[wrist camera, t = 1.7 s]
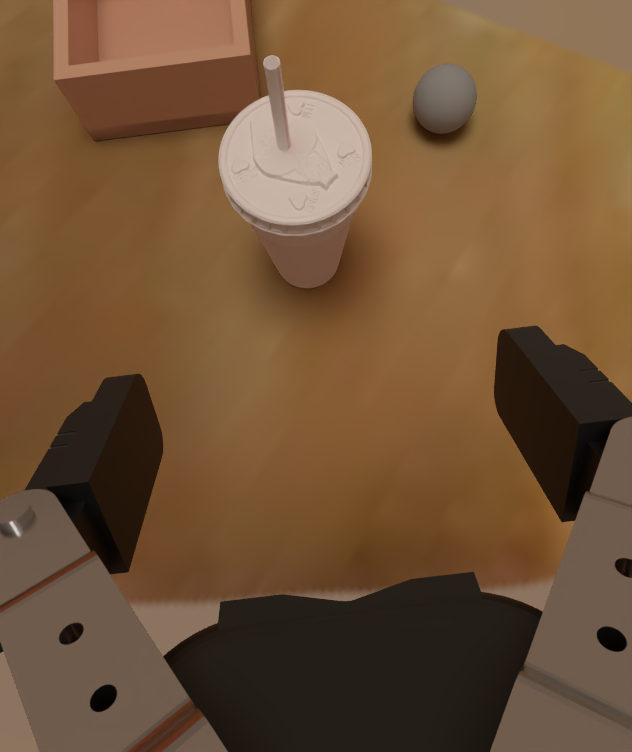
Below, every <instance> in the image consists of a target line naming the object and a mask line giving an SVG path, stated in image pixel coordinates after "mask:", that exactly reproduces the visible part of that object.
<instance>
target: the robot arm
mask: <svg viewBox="0 0 632 752" xmlns="http://www.w3.org/2000/svg"><path fill="white" fill-rule="evenodd" d="M494 398H495V404H496V408H497V411H498V414H499V416H500V418H501V420H502V421H503V423H504V425H505V426H506V428H507V430H508V431H509V433H510V435H511V437H512V438H513V440H514V442H515V443H516V445H517V447H518V449H519V450H520V452H521V454H522V455H523V457H524V459H525V460H526V462H527V464H528V466H529V467H530V469H531V471H532V472H533V474H534V476H535V477H536V479H537V481H538V483H539V484H540V486H541V488H542V489H543V491H544V493H545V494H546V496H547V498H548V500H549V501H550V503H551V505H552V506H553V508H554V510H555V511H556V513H557V515H558V517H559V518H560V520H561V522H567V521H575V523H574V525H573V528H572V531H571V534H570V537H569V540H568V542H567V545H566V548H565V551H564V554H563V557H562V559H561V562H560V565H559V568H558V571H557V574H556V576H555V579H554V582H553V585H552V588H551V591H550V593H549V596H548V599H547V602H546V605H545V608H544V610H543V612H542V611H540V610H539V609H536V608H534V607H532V606H530V605H527V604H525V603H523V602H520V601H517V600H514V599H511V598H508V597H505V596H500V595H496V594H491V593H484V592H481V591H480V588H479V585H478V583H477V580H476V577H475V574H474V572H468V573H460V574H451V575H443V576H434V577H426V578H418V579H410V580H408V581H405V582H402V583H400V584H397V585H394V586H391V587H389V588H386V589H383V590H380V591H378V592H375V593H372V594H369V595H367V596H364V597H361V598H358V599H356V600H352V601H335V600H326V599H317V598H309V597H300V596H291V595H283V594H282V595H274V596H265V597H257V598H248V599H240V600H231V601H223V602H220V611H219V620H218V623H217V624H214V625H212V626H209V627H207V628H205V629H203V630H201V631H199V632H197V633H195V634H193V635H192V636H190V637H189V638H187V639H185V640H184V641H182V642H181V643H179V644H178V645H177V646H175V647H174V648H173V649H172V650H170V651H169V652H168V653H167V654H165V655H164V656H162V654H161V653H160V651H159V650H158V648H157V647H156V645H155V644H154V642H153V641H152V639H151V637H150V636H149V634H148V633H147V631H146V630H145V628H144V626H143V625H142V623H141V622H140V620H139V619H138V617H137V616H136V614H135V612H134V611H133V609H132V608H131V606H130V605H129V603H128V602H127V600H126V599H125V597H124V595H123V594H122V592H121V591H120V589H119V588H118V586H117V585H116V583H115V582H114V580H113V578H112V577H111V575H110V574H117V573H125V572H129V568H130V565H131V561H132V558H133V555H134V551H135V548H136V544H137V541H138V537H139V534H140V531H141V527H142V524H143V520H144V517H145V513H146V510H147V507H148V503H149V500H150V496H151V493H152V489H153V486H154V483H155V479H156V476H157V472H158V469H159V465H160V462H161V459H162V454H163V437H162V432H161V428H160V425H159V422H158V419H157V416H156V413H155V410H154V406H153V403H152V400H151V397H150V394H149V391H148V388H147V385H146V382H145V380H144V378H143V377H142V375H140V374H133V375H125V376H117V377H108V378H105V379H104V380H103V382H102V384H101V385H100V387H99V389H98V391H97V393H96V395H95V397H94V398H93V400H92V401H91V402H84V403H83V404H82V405H80V406H79V407H78V408H77V409H76V410H75V411H74V412H72V413H71V414H70V415H69V416H68V417H67V418H66V420H65V421H64V423H63V425H62V427H61V428H60V430H59V432H58V436H56V437H55V439H54V440H53V442H52V444H51V446H50V447H51V449H48V451H47V453H46V454H45V456H44V458H43V459H42V461H41V463H40V465H39V466H38V468H37V470H36V472H35V473H34V475H33V477H32V478H31V480H30V482H29V484H28V485H27V487H26V489H25V491H22V492H18V493H15V494H12V495H10V496H8V497H6V498H4V499H2V500H0V653H1V652H3V651H4V654H5V656H6V659H7V662H8V665H9V667H10V670H11V673H12V676H13V679H14V681H15V684H16V687H17V690H18V693H19V695H20V698H21V701H22V704H23V707H24V709H25V712H26V715H27V718H28V720H29V723H30V726H31V729H32V731H33V734H34V737H35V740H36V743H37V745H38V748H39V751H40V752H632V403H631V402H630V401H629V400H628V399H627V398H626V397H625V396H624V395H623V394H622V392H621V391H620V390H619V389H618V388H617V387H616V386H615V385H614V384H613V383H612V382H609V381H608V378H607V377H606V376H605V375H604V374H603V373H602V372H601V371H598V368H597V367H596V366H595V365H594V364H593V363H592V362H591V361H590V360H589V359H588V358H587V357H586V356H585V355H584V354H582V353H580V352H578V351H576V350H574V349H572V348H570V347H568V346H566V345H564V344H562V345H555V344H554V343H553V342H552V341H551V340H550V339H549V337H548V336H547V335H546V334H545V333H544V332H543V331H542V330H541V329H540V328H539V327H538V326H528V327H520V328H512V329H504V330H501V331H500V333H499V336H498V344H497V357H496V371H495V384H494Z"/></svg>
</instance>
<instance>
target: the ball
mask: <svg viewBox="0 0 632 752" xmlns="http://www.w3.org/2000/svg"><path fill="white" fill-rule="evenodd" d="M476 99H477V92H476V86H475V83H474V80H473V78H472V77H471V75H470V74H469V73H468V72H467V71H466V70H465V69H463V68H462V67H460V66H457V65H454V64H443V65H439V66H436V67H434V68H432V69H430V70H429V71H428V72H427V73H425V74H424V75H423V77H422V78H421V79H420V81H419V82H418V84H417V86H416V89H415V92H414V96H413V109H414V113H415V116H416V118H417V120H418V121H419V123H420V124H421V125H422V126H423V127H424V128H425V129H427V130H429V131H431V132H434V133H438V134H444V133H449V132H453V131H455V130H457V129H458V128H460V127H461V126H463V125H464V124H465V123H466V122H467V121H468V119H469V118H470V116H471V115H472V113H473V110H474V108H475V104H476Z"/></svg>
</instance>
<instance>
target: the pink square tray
mask: <svg viewBox="0 0 632 752" xmlns="http://www.w3.org/2000/svg"><path fill="white" fill-rule="evenodd" d="M54 81H55V83H56V84H57V86H58V87H59V89H60V90H61V92H62V93H63V94H64V96H65V97H66V99H67V100H68V102H69V103H70V105H71V106H72V108H73V109H74V111H75V112H76V114H77V115H78V117H79V118H80V120H81V121H82V123H83V124H84V126H85V127H86V129H87V130H88V132H89V133H90V135H91V136H92V138H93V139H94V141H99V140H107V139H115V138H122V137H130V136H138V135H146V134H154V133H161V132H169V131H177V130H185V129H192V128H200V127H208V126H216V125H224V124H231V122H232V121H233V120H234V118H235V117H236V116H237V115H238V114H239V113H240V112H241V111H242V110H243V109H245V108H246V107H247V106H249V105H250V104H252V103H253V102H255V101H257V100H259V99H261V96H260V87H259V78H258V69H257V59H256V50H255V41H254V32H253V23H252V14H251V5H250V0H54Z"/></svg>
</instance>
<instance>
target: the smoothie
mask: <svg viewBox="0 0 632 752" xmlns="http://www.w3.org/2000/svg"><path fill="white" fill-rule="evenodd" d="M263 64H264V70H265V76H266V82H267V88H268V93H269V95H268V96H265V97H263V98H261V99H259V100H257V101H255V102H253V103H252V104H250V105H249V106H247V107H246V108H245V109H243V110H242V111H241V112H240V113H239V114H238V115H237V116H236V117H235V118H234V120H233V121H232V122H231V124H230V125H229V127H228V128H227V130H226V132H225V134H224V136H223V139H222V142H221V145H220V150H219V170H220V175H221V178H222V182H223V187H224V192H225V194H226V196H227V198H228V199H229V201H230V203H231V205H232V207H233V208H234V209H235V210H236V212H237V213H238V214H239V215H240V216H241V217H242V218H243V219H244V220H245V221H246V222H248V223H250V224H251V225H252V227H253V229H254V231H255V232H256V234H257V236H258V237H259V239H260V241H261V243H262V244H263V246H264V248H265V249H266V251H267V253H268V254H269V256H270V258H271V260H272V261H273V263H274V265H275V266H276V268H277V270H278V271H279V273H280V275H281V276H282V277H283V279H284V280H286V281H287V282H288V283H289V284H291V285H293V286H296V287H299V288H315V287H318V286H321V285H323V284H325V283H326V282H328V281H329V280H330V279H331V278H332V277H333V276H334V274H335V273H336V271H337V268H338V265H339V262H340V258H341V255H342V252H343V248H344V245H345V241H346V238H347V234H348V231H349V228H350V224H351V221H352V217H353V214H354V211H355V210H356V209H357V207H358V206H359V205H360V203H361V202H362V200H363V199H364V197H365V196H366V193H367V190H368V187H369V184H370V181H371V178H372V151H371V143H370V139H369V136H368V133H367V131H366V129H365V127H364V125H363V123H362V122H361V120H360V119H359V118H358V116H357V115H356V114H355V113H354V112H353V111H352V110H351V109H350V108H349V107H347V106H346V105H345V104H343V103H342V102H340V101H338V100H337V99H335V98H333V97H330V96H328V95H325V94H322V93H318V92H313V91H306V90H289V91H284V88H283V80H282V73H281V65H280V60H279V58H278V57H276V56H268V57H266V58H265V59H264V62H263Z"/></svg>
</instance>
